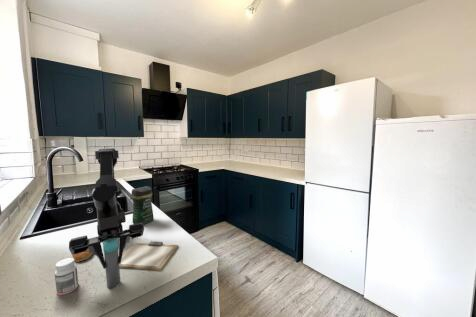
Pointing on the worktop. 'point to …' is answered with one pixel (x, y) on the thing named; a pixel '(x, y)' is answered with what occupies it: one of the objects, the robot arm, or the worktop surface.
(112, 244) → the ball
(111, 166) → the robot arm
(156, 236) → the worktop surface
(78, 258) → the pastry
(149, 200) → the coffee jar
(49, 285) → the worktop surface
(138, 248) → the clipboard
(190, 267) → the worktop surface
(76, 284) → the pill bottle
